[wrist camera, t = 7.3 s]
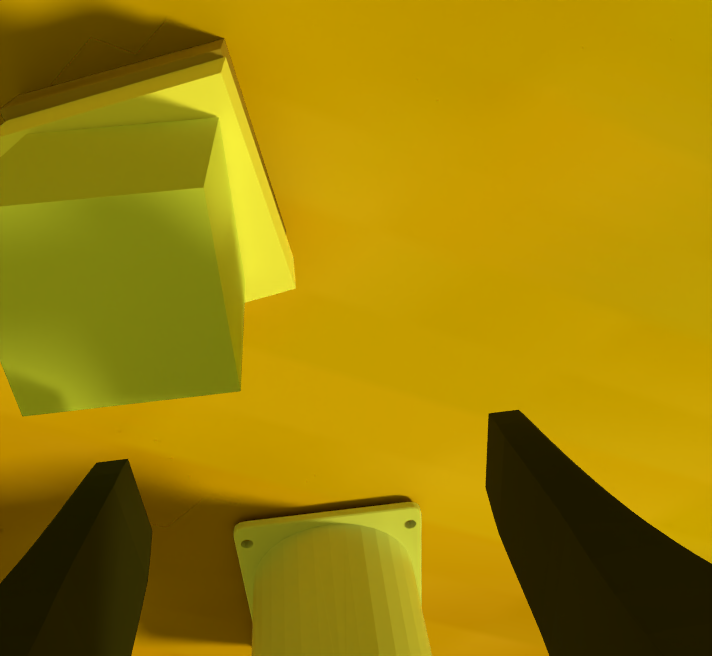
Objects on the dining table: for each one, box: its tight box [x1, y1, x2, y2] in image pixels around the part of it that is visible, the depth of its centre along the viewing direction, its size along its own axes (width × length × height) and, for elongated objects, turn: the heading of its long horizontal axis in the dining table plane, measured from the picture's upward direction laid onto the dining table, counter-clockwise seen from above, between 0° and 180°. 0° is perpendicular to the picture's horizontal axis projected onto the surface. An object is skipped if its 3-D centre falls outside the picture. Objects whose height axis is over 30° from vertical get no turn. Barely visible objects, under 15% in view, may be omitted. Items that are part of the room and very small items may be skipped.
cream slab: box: [0, 57, 296, 302], centre depth 18 cm, size 6×6×2 cm
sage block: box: [0, 117, 245, 416], centre depth 15 cm, size 4×4×5 cm
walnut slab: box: [0, 39, 286, 234], centre depth 20 cm, size 6×6×2 cm
